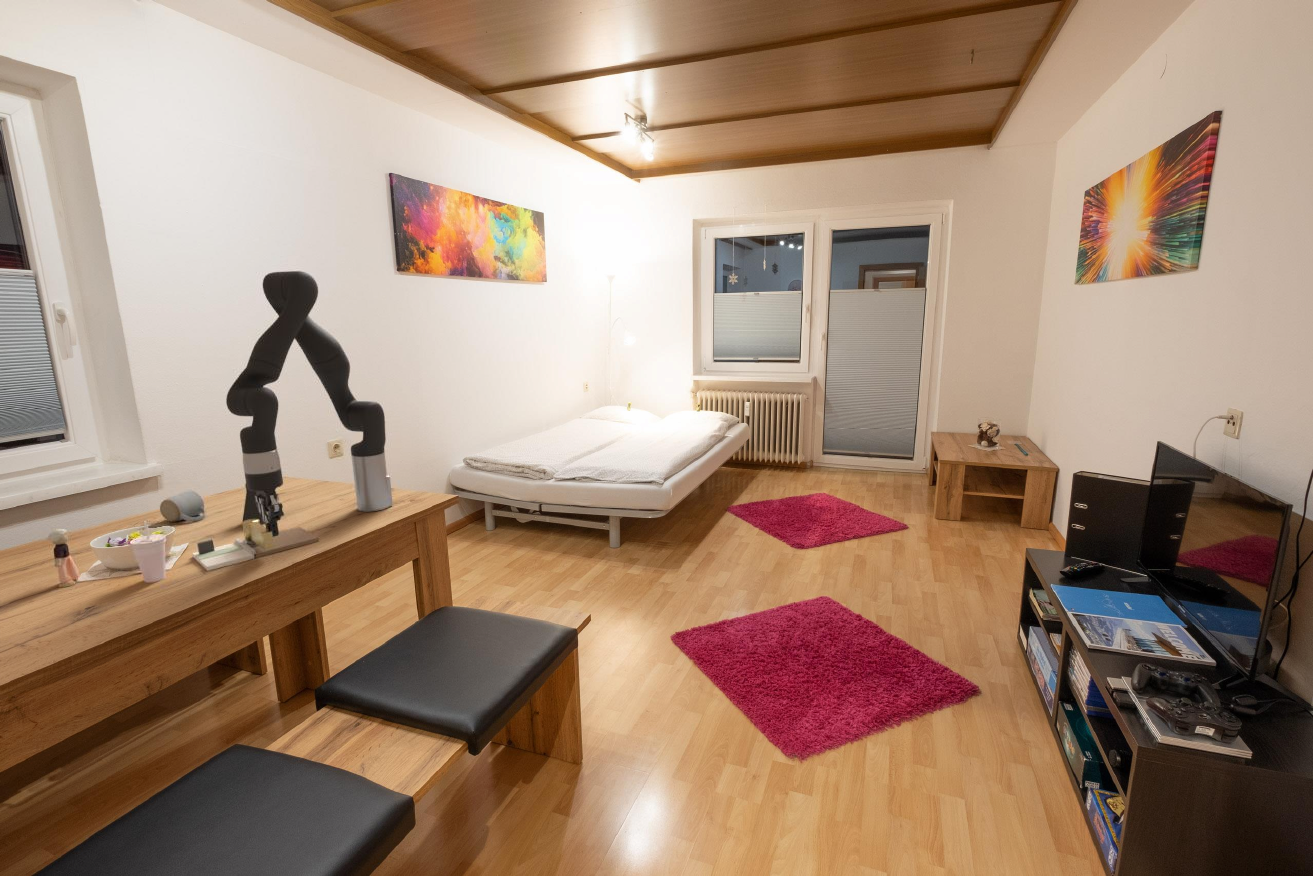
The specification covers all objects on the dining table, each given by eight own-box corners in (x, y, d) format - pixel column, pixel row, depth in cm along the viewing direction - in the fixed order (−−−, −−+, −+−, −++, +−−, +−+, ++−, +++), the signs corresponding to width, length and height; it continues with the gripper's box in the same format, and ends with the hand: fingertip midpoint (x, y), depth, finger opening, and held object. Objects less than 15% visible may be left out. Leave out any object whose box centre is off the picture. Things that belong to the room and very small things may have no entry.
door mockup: (300, 530, 168) (298, 517, 167) (318, 541, 160) (317, 527, 159) (192, 556, 150) (190, 542, 149) (207, 570, 142) (205, 555, 141)
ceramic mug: (159, 522, 176) (155, 497, 174) (187, 513, 183) (183, 489, 182) (188, 525, 173) (184, 500, 172) (215, 516, 181) (211, 491, 179)
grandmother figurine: (81, 584, 135) (69, 531, 132) (57, 590, 132) (44, 535, 130) (80, 574, 140) (69, 522, 138) (57, 579, 138) (45, 527, 135)
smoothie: (143, 587, 133) (131, 527, 130) (132, 581, 136) (120, 522, 134) (178, 576, 138) (167, 519, 136) (166, 570, 142) (155, 514, 139)
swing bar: (243, 538, 155) (240, 521, 154) (259, 534, 158) (256, 517, 157) (261, 553, 145) (258, 534, 144) (278, 548, 148) (275, 530, 147)
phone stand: (260, 525, 172) (254, 485, 170) (242, 524, 173) (235, 484, 171) (284, 515, 181) (279, 476, 178) (266, 514, 182) (261, 475, 179)
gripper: (289, 469, 145) (299, 537, 148) (270, 461, 153) (280, 525, 157) (254, 476, 139) (265, 547, 143) (236, 467, 148) (247, 534, 151)
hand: (273, 535), depth 150 cm, fingers closed
